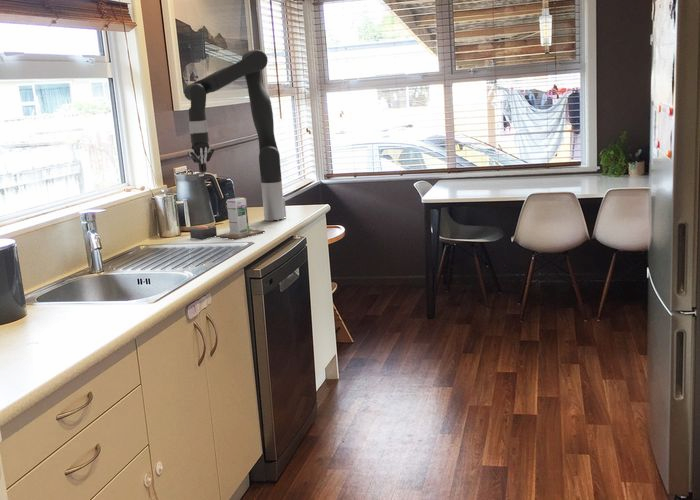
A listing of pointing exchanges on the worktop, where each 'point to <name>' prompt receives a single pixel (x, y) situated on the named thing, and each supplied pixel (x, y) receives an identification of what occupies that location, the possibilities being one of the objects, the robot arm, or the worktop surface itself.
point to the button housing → (203, 233)
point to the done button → (202, 227)
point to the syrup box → (237, 216)
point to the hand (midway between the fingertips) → (203, 172)
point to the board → (235, 237)
